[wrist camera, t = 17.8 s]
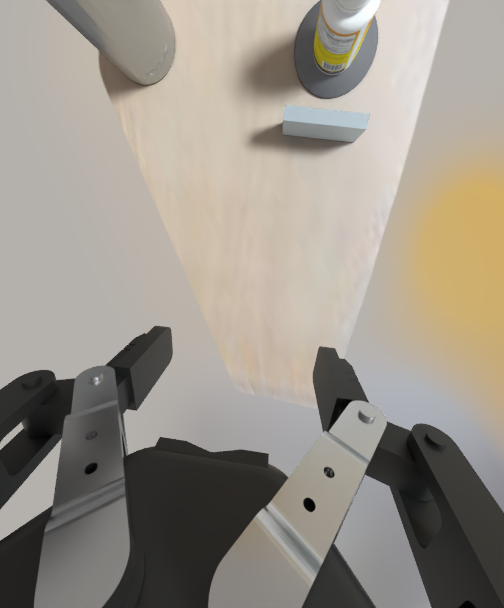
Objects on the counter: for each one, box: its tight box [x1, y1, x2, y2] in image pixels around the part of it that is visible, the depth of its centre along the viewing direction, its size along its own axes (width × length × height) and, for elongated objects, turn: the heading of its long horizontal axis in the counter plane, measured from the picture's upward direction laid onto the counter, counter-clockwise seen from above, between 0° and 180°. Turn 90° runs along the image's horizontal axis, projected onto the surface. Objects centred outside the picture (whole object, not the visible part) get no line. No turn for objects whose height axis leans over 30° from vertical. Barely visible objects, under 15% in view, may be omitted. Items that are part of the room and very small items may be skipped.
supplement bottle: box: [313, 0, 381, 75], centre depth 24 cm, size 6×6×10 cm
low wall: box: [283, 105, 370, 142], centre depth 30 cm, size 10×2×5 cm, turn 83°
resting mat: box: [295, 0, 378, 98], centre depth 29 cm, size 10×10×1 cm
